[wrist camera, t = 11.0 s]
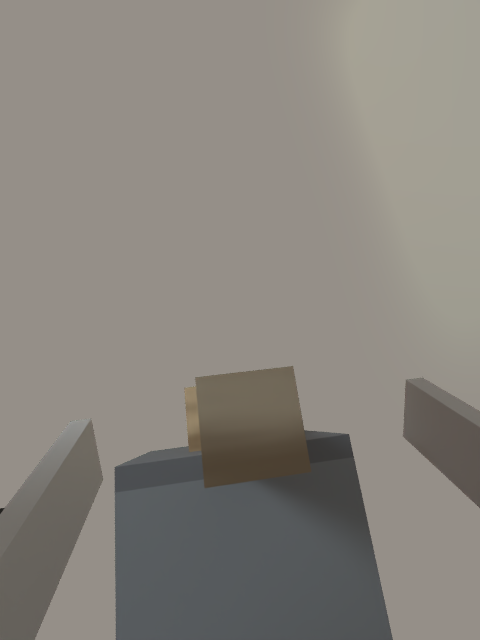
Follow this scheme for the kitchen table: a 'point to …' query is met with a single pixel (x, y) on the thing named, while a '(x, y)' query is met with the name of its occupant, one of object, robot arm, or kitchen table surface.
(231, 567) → the lidded box
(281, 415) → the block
